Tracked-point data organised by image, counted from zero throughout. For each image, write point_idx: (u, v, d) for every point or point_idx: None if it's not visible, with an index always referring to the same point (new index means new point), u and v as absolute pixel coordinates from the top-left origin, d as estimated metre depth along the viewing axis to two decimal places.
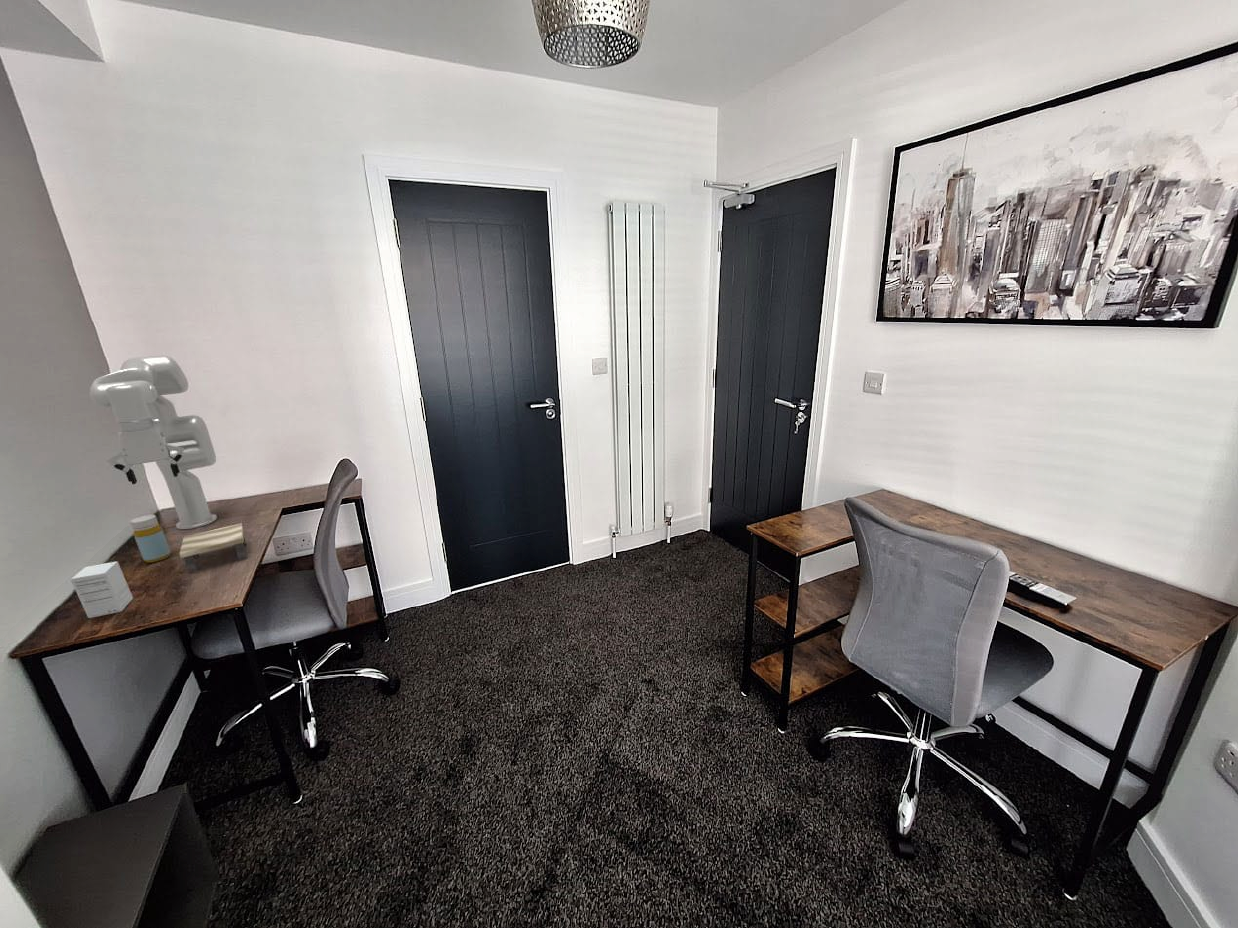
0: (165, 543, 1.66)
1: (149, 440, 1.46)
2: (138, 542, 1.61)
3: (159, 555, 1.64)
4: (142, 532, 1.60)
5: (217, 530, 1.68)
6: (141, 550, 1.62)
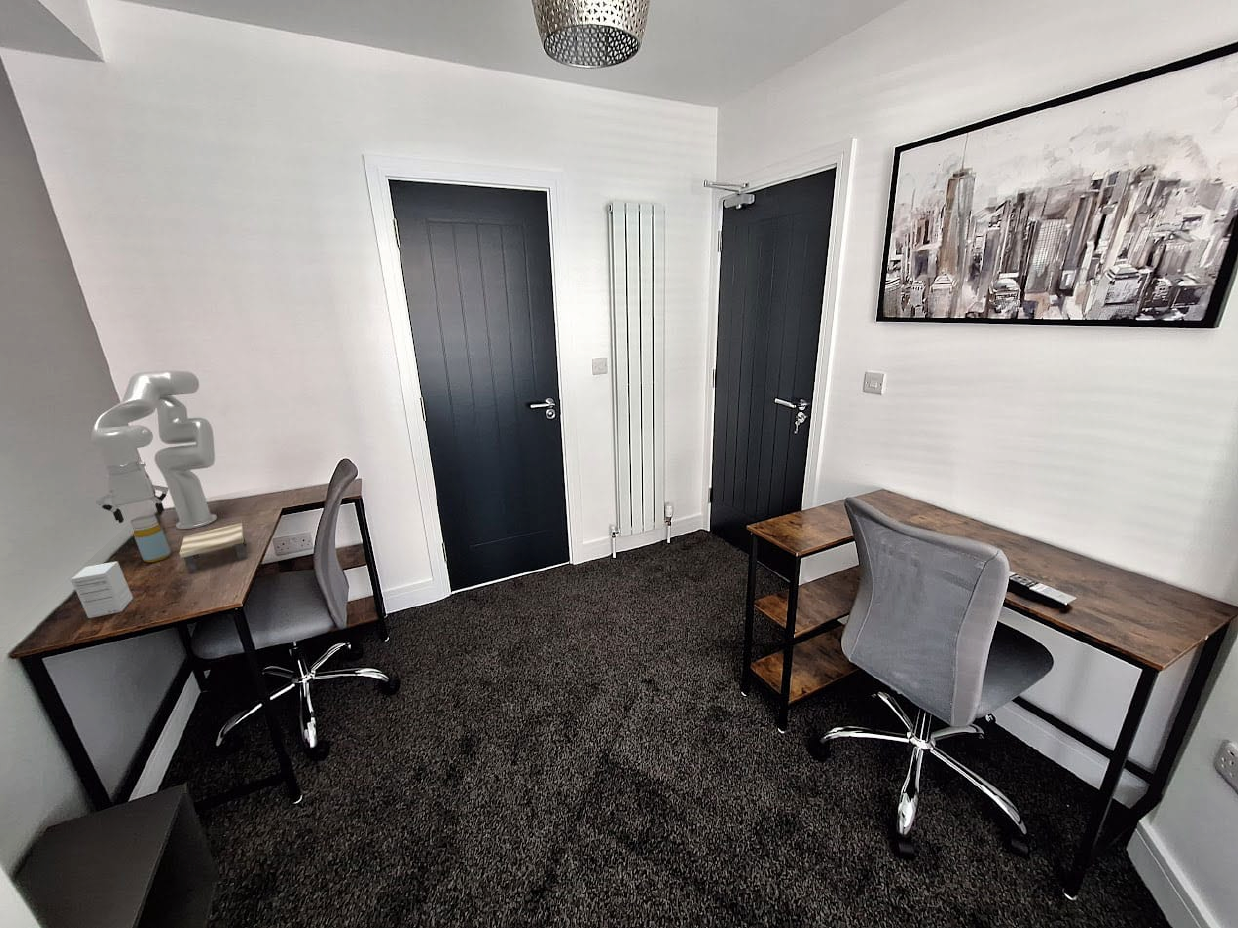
0: (165, 543, 1.66)
1: (135, 482, 1.57)
2: (138, 542, 1.61)
3: (159, 555, 1.64)
4: (142, 532, 1.60)
5: (217, 530, 1.68)
6: (141, 550, 1.62)
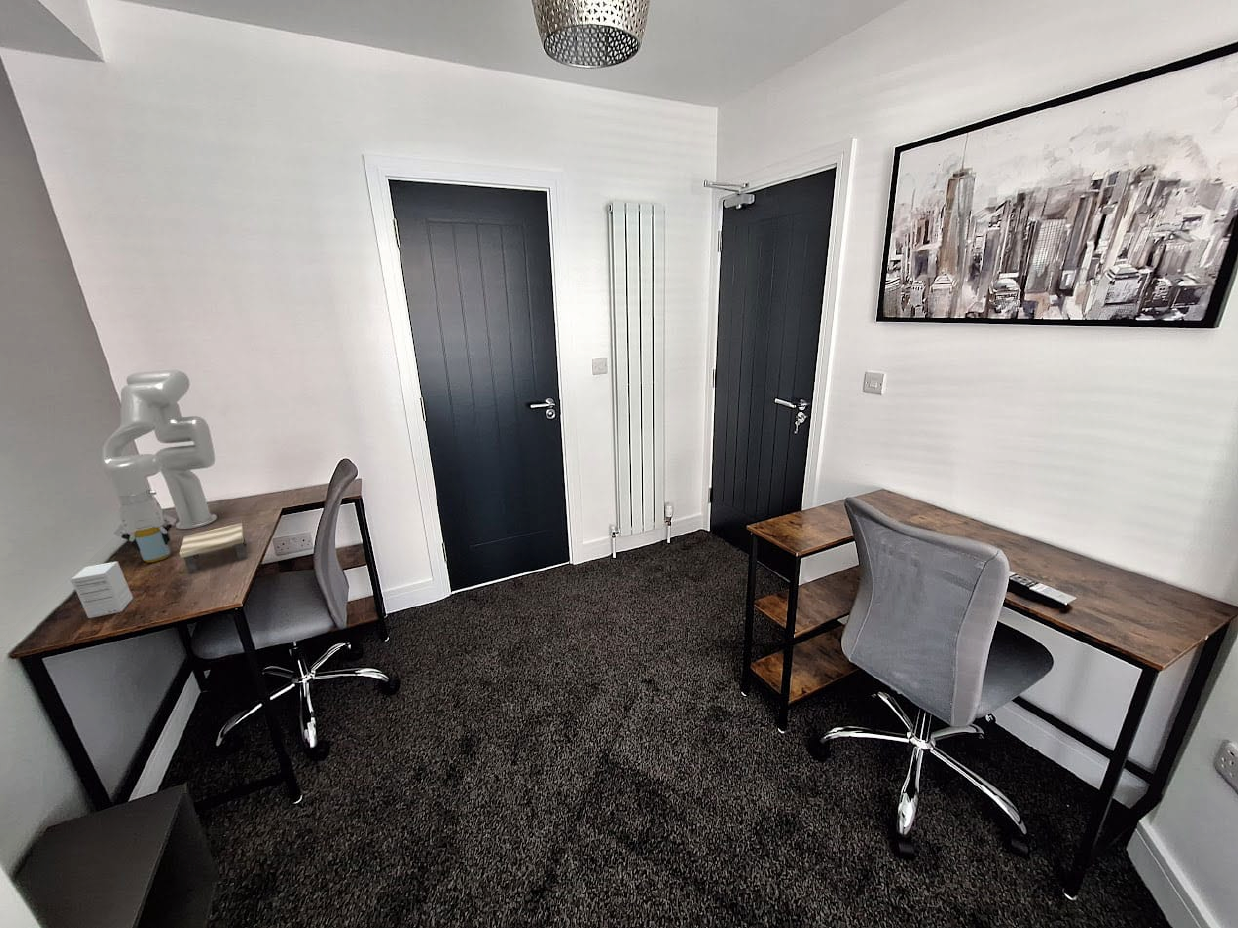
0: None
1: (146, 510, 1.60)
2: (138, 542, 1.61)
3: (159, 555, 1.64)
4: (142, 532, 1.60)
5: (217, 530, 1.68)
6: (141, 550, 1.62)
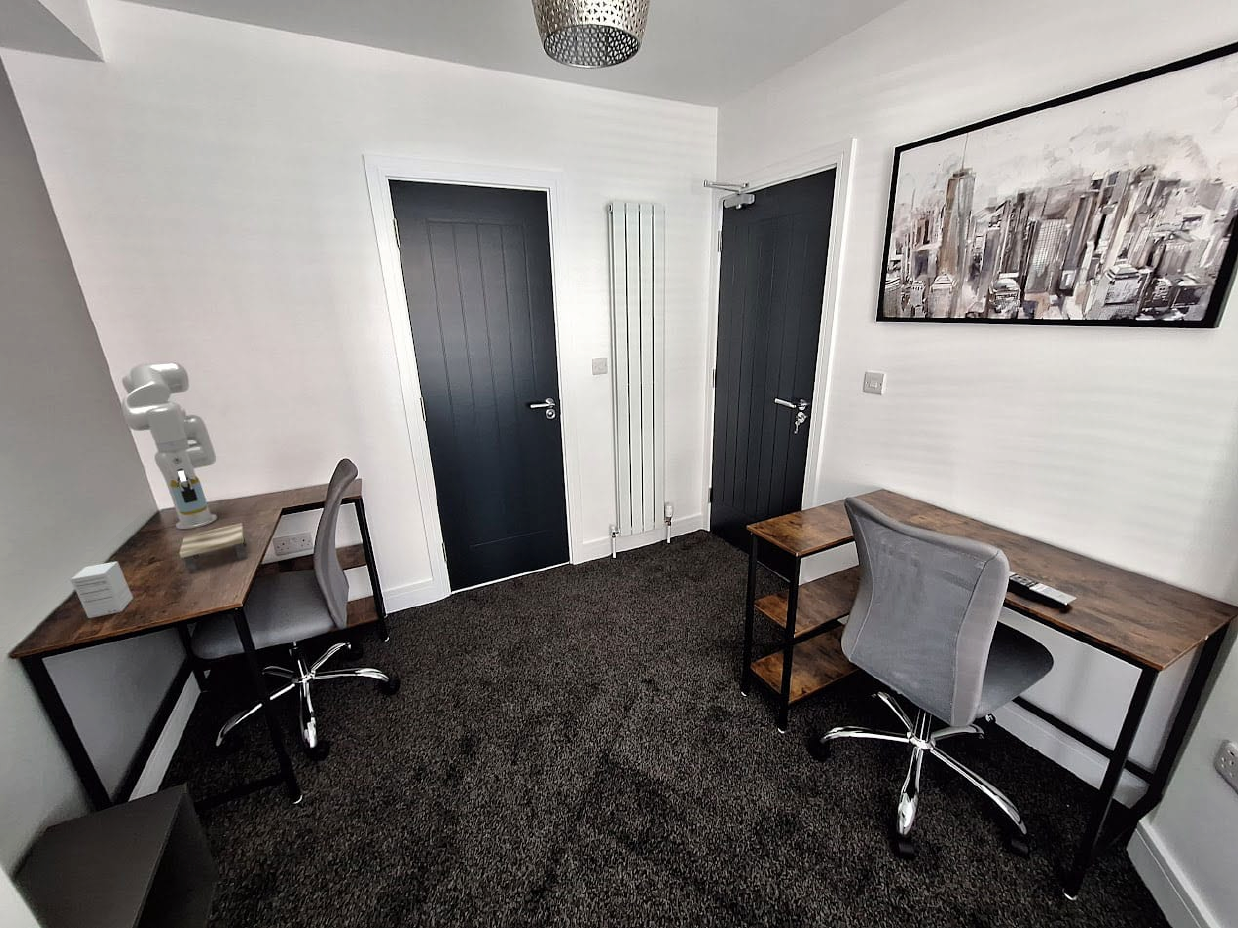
0: None
1: (167, 462, 1.52)
2: None
3: (179, 509, 1.56)
4: None
5: (217, 530, 1.68)
6: None
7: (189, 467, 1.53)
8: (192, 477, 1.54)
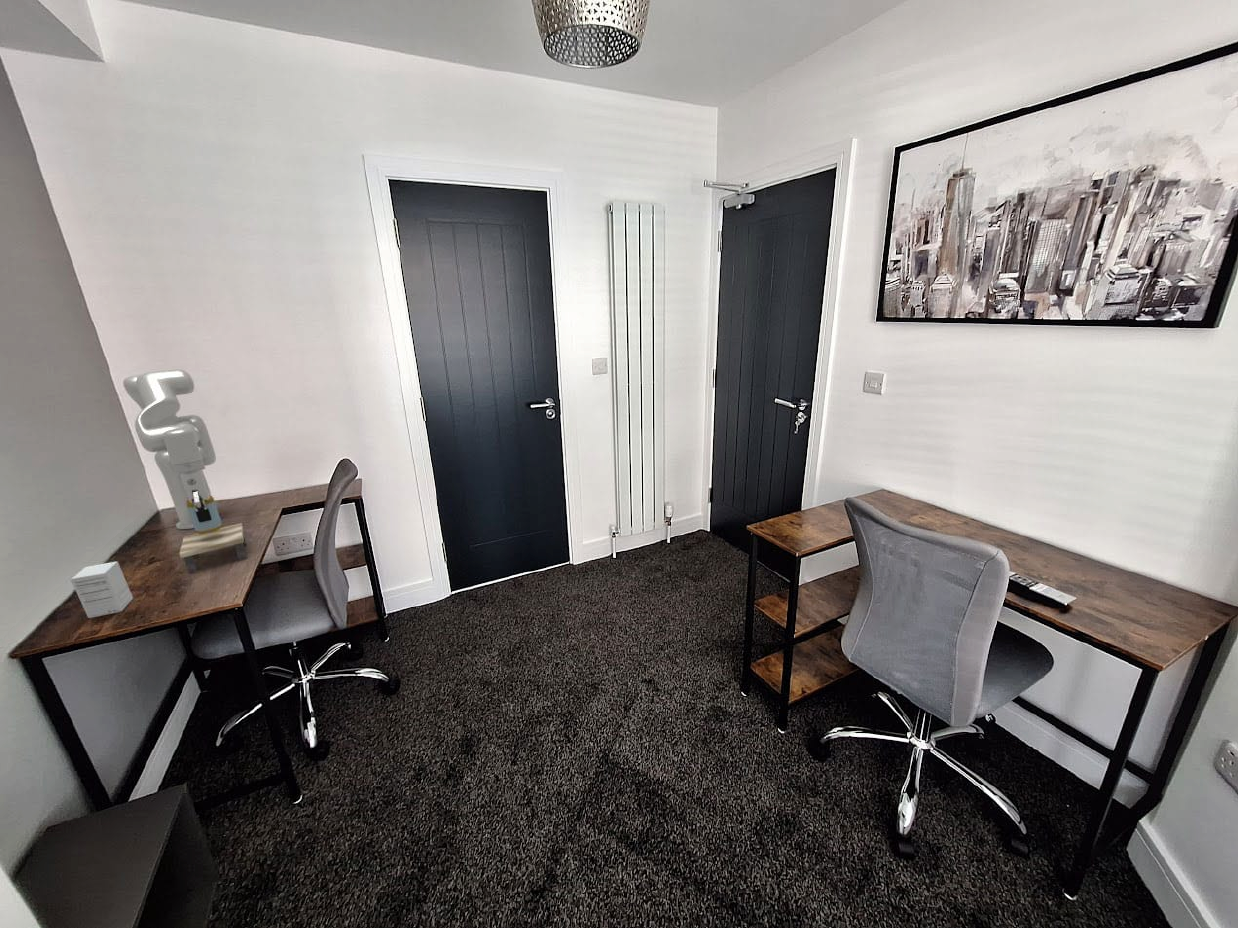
0: None
1: None
2: None
3: (195, 528, 1.59)
4: None
5: (217, 530, 1.68)
6: None
7: (203, 488, 1.55)
8: (206, 498, 1.56)
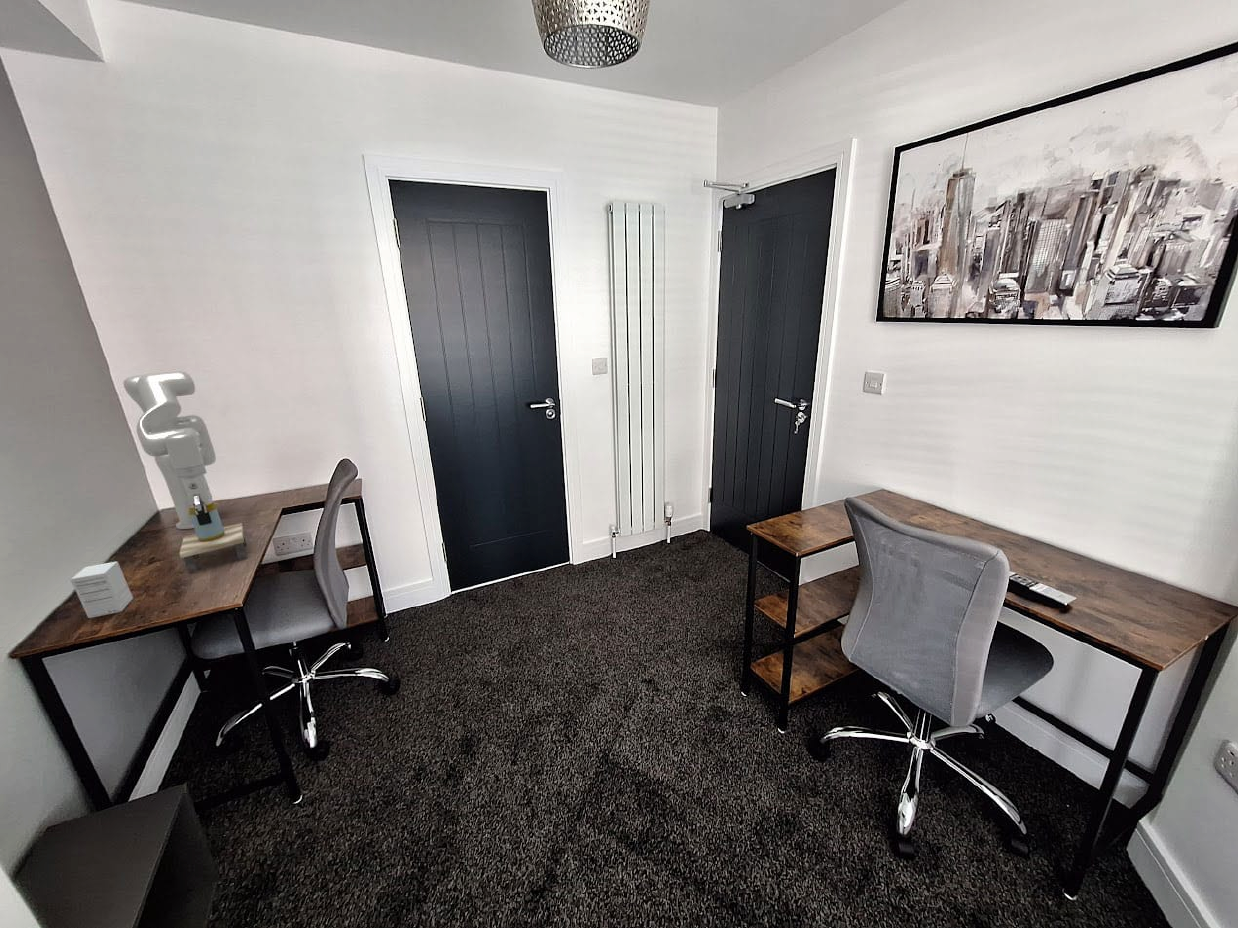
0: (202, 527, 1.58)
1: None
2: None
3: (197, 536, 1.60)
4: None
5: None
6: None
7: (205, 492, 1.55)
8: (207, 502, 1.56)
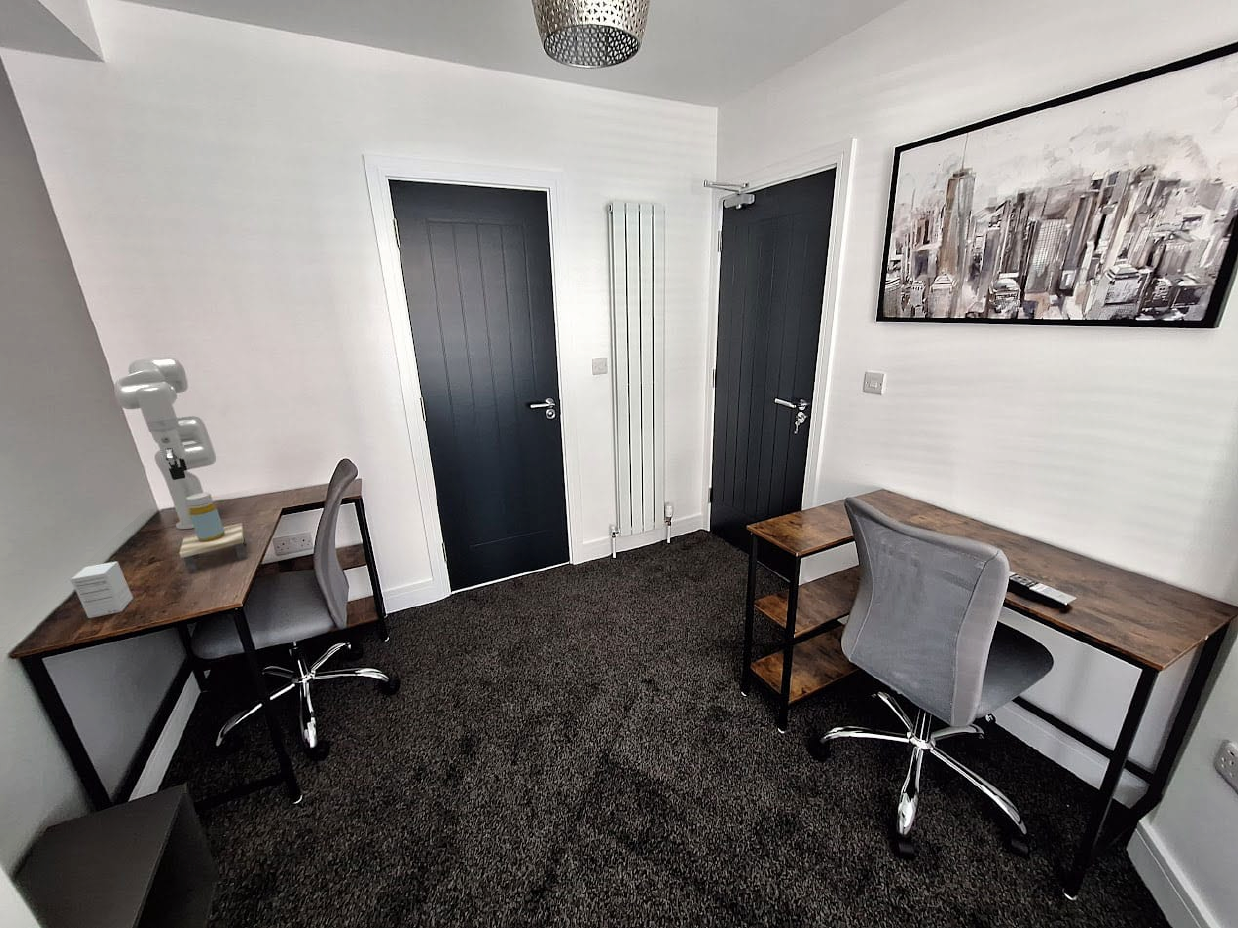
0: (202, 527, 1.58)
1: None
2: None
3: (197, 536, 1.60)
4: None
5: None
6: None
7: (178, 447, 1.56)
8: (181, 457, 1.57)
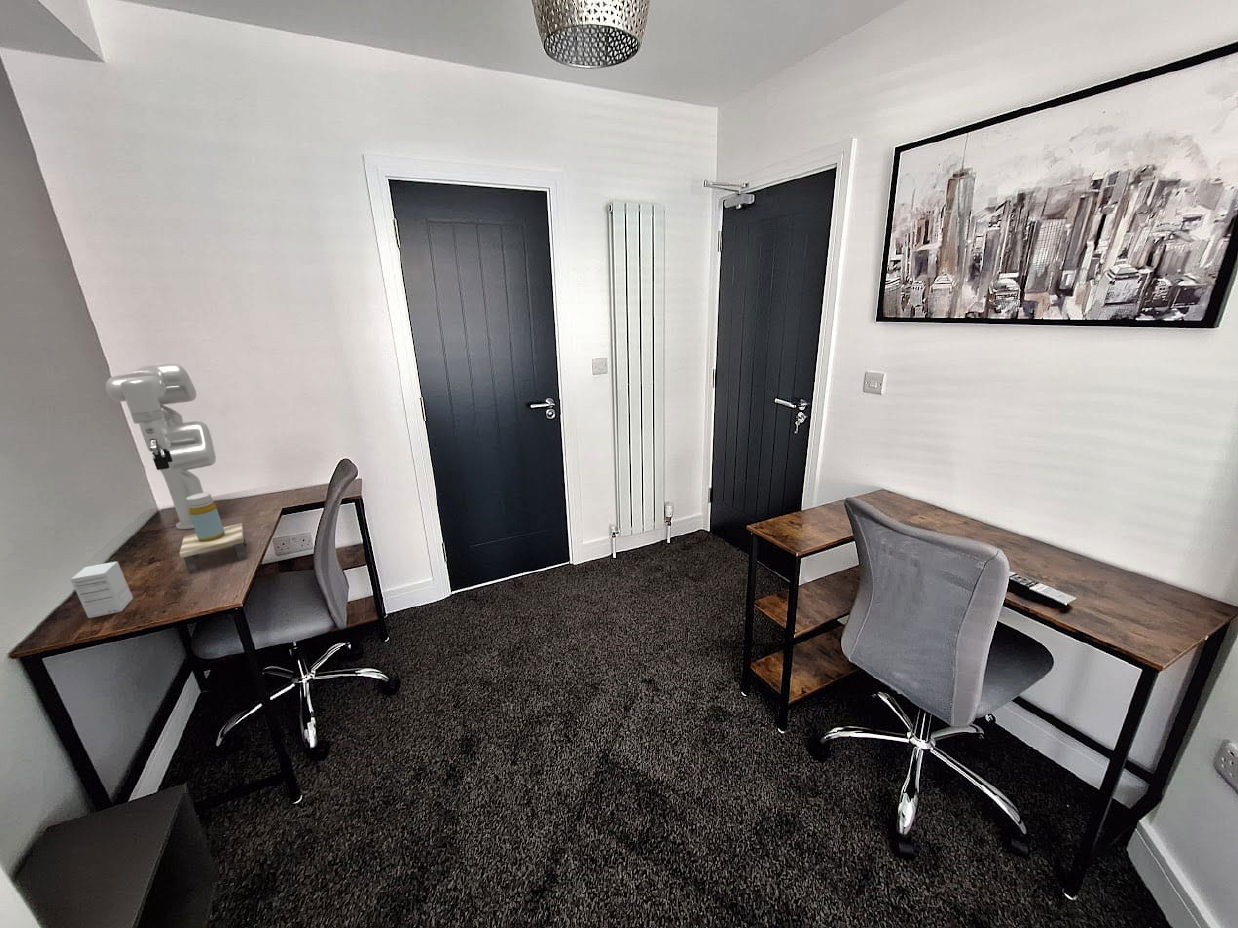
0: (202, 527, 1.58)
1: None
2: None
3: (197, 536, 1.60)
4: None
5: None
6: None
7: (162, 437, 1.60)
8: (165, 447, 1.61)
